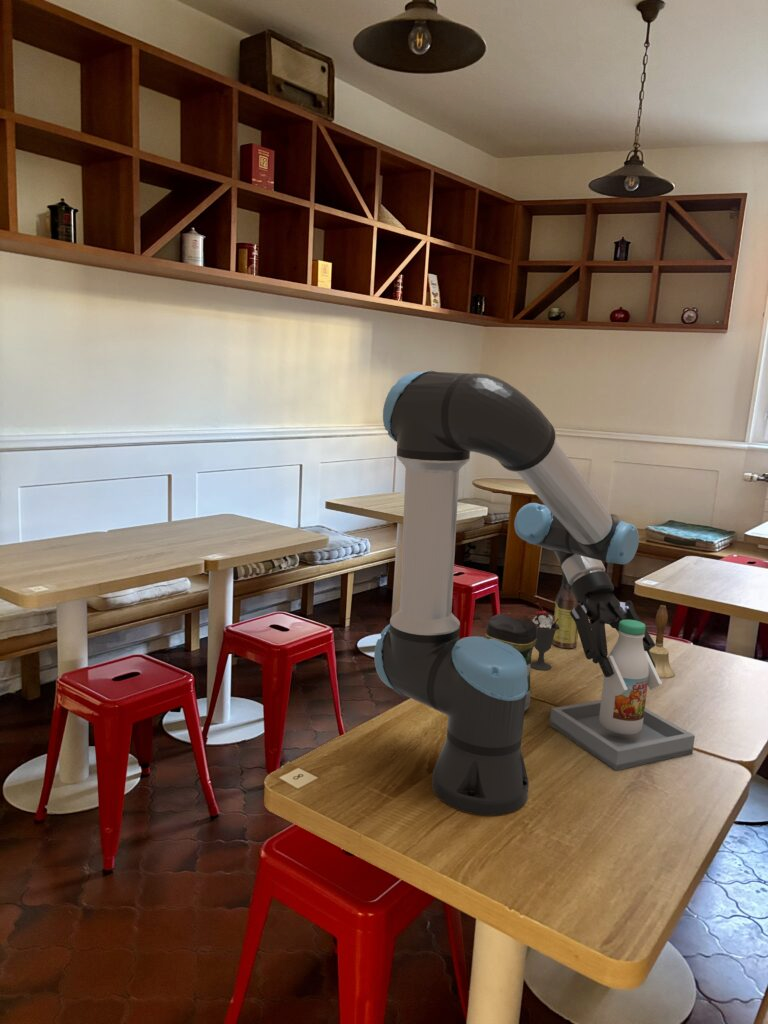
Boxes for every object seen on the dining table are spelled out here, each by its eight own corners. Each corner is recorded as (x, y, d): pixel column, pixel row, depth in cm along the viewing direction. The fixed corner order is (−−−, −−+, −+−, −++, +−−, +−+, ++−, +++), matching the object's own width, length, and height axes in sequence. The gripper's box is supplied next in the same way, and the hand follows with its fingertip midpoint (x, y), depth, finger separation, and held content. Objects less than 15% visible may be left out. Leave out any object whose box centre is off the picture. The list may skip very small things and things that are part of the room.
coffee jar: (473, 706, 151) (481, 616, 147) (491, 694, 157) (498, 608, 154) (518, 720, 145) (527, 628, 142) (534, 707, 152) (543, 618, 149)
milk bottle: (594, 728, 138) (606, 623, 134) (603, 713, 145) (614, 613, 141) (638, 739, 134) (651, 632, 131) (645, 723, 141) (658, 621, 138)
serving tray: (615, 770, 128) (618, 751, 127) (549, 725, 144) (551, 708, 143) (692, 753, 136) (694, 735, 135) (621, 712, 152) (623, 696, 151)
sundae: (520, 661, 177) (526, 600, 174) (545, 660, 179) (551, 599, 176) (534, 672, 170) (540, 608, 168) (560, 670, 172) (566, 607, 170)
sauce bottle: (561, 639, 194) (569, 564, 191) (582, 646, 190) (590, 570, 186) (545, 644, 190) (553, 567, 187) (566, 651, 185) (574, 573, 182)
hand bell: (659, 680, 170) (668, 613, 167) (629, 668, 177) (637, 602, 174) (682, 674, 174) (691, 608, 172) (652, 662, 181) (660, 598, 179)
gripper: (617, 585, 154) (667, 690, 142) (535, 592, 145) (583, 705, 133) (639, 566, 148) (693, 674, 136) (556, 572, 139) (607, 688, 128)
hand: (639, 689), depth 135 cm, fingers closed on milk bottle, 7 cm apart
